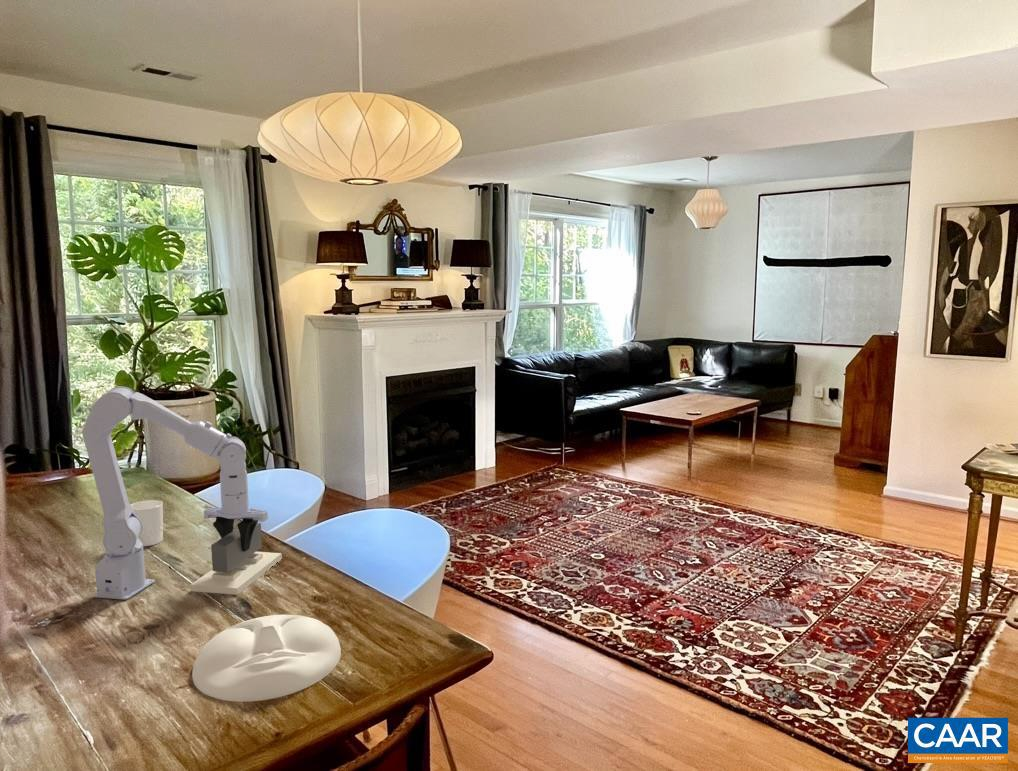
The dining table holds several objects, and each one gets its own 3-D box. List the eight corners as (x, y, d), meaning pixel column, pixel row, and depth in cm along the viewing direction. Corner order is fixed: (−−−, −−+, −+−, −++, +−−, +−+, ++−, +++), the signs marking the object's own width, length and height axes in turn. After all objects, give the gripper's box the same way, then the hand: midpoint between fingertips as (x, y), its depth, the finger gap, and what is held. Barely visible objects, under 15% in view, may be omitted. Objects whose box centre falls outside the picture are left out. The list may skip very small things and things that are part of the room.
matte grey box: (227, 572, 153) (225, 546, 153) (212, 571, 154) (211, 545, 153) (262, 547, 168) (260, 522, 167) (248, 546, 169) (247, 522, 168)
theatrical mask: (184, 669, 108) (193, 601, 131) (188, 717, 109) (195, 641, 132) (349, 640, 117) (330, 581, 140) (350, 685, 118) (331, 619, 141)
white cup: (140, 550, 176) (137, 511, 175) (125, 543, 181) (122, 505, 179) (171, 540, 182) (168, 503, 181) (156, 534, 187) (153, 498, 186)
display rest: (237, 594, 151) (237, 583, 150) (190, 591, 153) (190, 580, 152) (282, 559, 170) (281, 549, 170) (240, 556, 172) (239, 546, 172)
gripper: (273, 488, 161) (275, 544, 163) (214, 485, 164) (218, 541, 166) (257, 497, 155) (260, 556, 156) (197, 494, 157) (200, 552, 159)
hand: (237, 549), depth 161 cm, fingers closed on matte grey box, 3 cm apart
